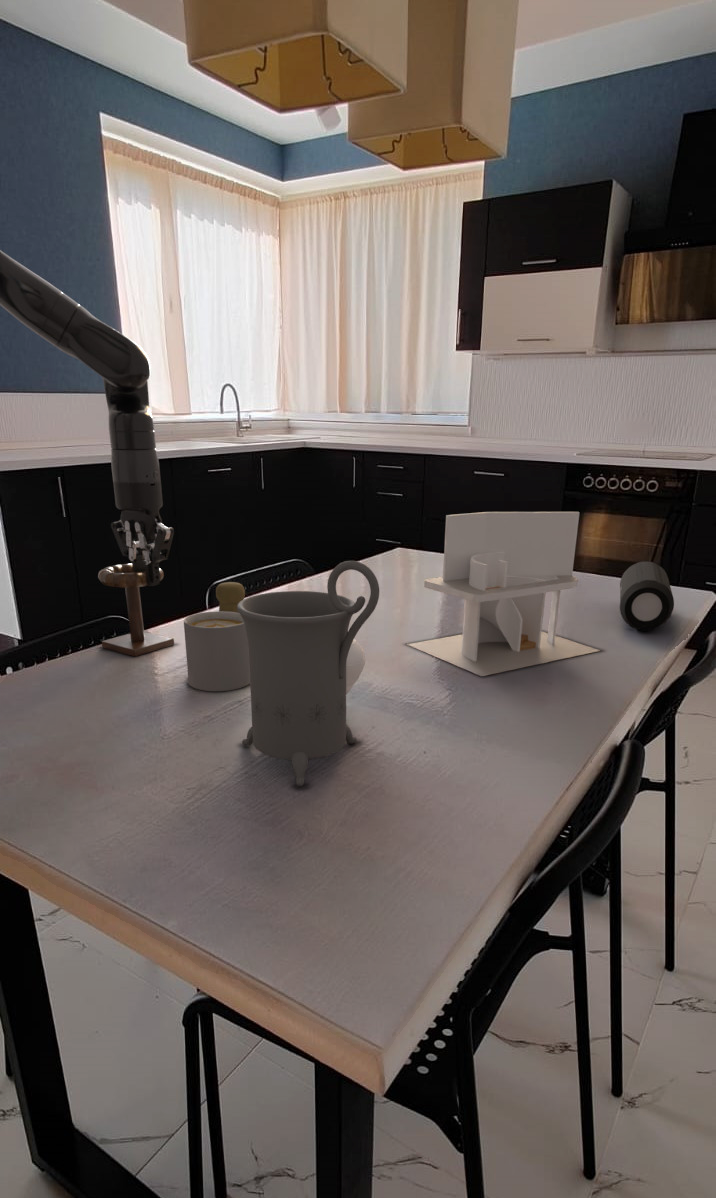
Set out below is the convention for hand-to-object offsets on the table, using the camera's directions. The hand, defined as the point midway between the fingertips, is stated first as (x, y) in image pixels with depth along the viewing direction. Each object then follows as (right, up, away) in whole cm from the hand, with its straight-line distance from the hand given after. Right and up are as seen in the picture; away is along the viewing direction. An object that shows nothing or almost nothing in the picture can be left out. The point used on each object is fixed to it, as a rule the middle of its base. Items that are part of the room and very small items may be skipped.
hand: (147, 583), depth 132 cm
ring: (-3, +2, +2) cm, 4 cm away
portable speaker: (+95, -2, +28) cm, 100 cm away
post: (-3, -10, +7) cm, 13 cm away
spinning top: (+33, -22, -20) cm, 45 cm away
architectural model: (+63, -10, +8) cm, 64 cm away
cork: (+13, -9, +10) cm, 19 cm away
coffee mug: (+15, -17, -8) cm, 24 cm away
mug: (+30, -29, -36) cm, 55 cm away
